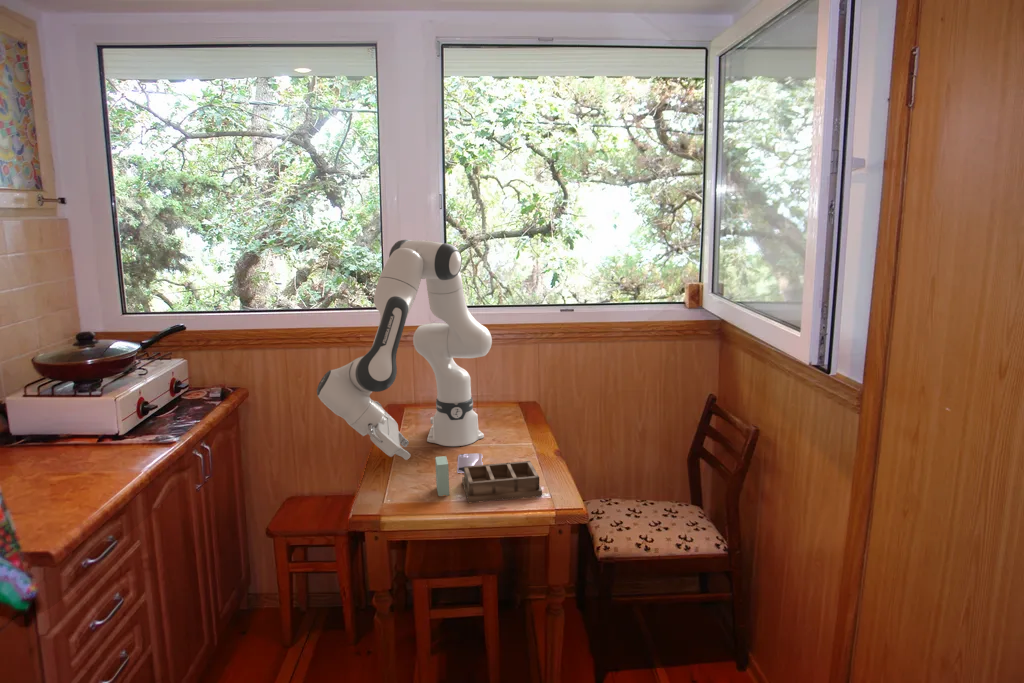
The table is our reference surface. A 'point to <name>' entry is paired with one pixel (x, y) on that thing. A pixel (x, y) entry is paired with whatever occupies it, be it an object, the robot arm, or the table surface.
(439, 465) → the sage block
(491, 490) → the walnut rack
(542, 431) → the table surface
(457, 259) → the robot arm
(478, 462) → the mobile phone
